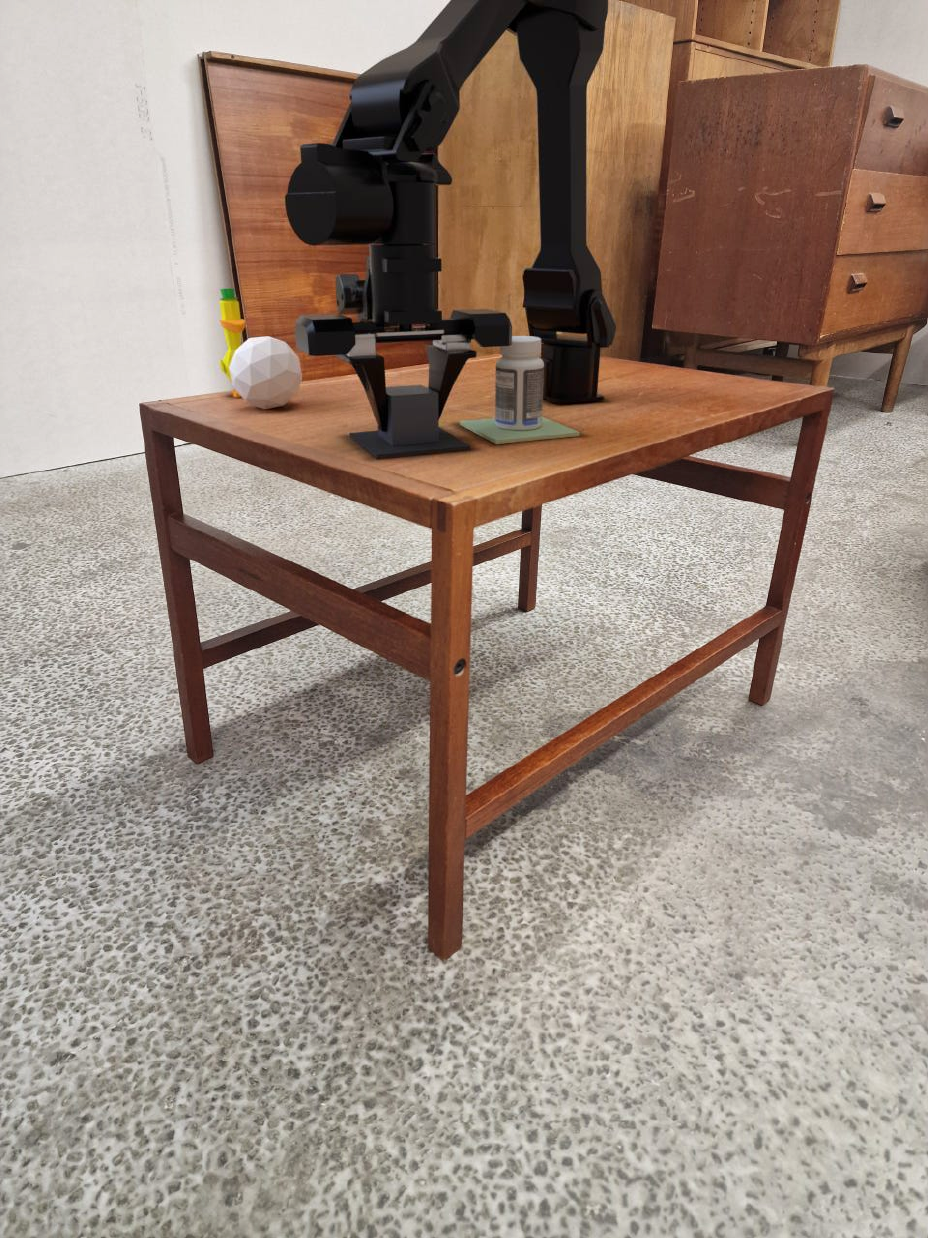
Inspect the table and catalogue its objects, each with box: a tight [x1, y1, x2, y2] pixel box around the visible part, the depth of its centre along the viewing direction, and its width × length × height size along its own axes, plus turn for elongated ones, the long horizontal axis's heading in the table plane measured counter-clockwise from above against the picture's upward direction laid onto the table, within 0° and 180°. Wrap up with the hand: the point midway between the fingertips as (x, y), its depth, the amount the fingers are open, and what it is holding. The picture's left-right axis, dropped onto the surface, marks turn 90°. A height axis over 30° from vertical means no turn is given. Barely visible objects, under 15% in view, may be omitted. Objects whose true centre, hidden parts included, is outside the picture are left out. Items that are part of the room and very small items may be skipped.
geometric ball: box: [229, 335, 303, 410], centre depth 89 cm, size 8×8×8 cm
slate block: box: [377, 384, 440, 446], centre depth 74 cm, size 4×4×4 cm
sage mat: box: [459, 416, 580, 445], centre depth 80 cm, size 9×9×1 cm
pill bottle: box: [494, 335, 544, 430], centre depth 79 cm, size 5×5×8 cm
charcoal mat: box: [348, 427, 472, 460], centre depth 75 cm, size 9×9×1 cm
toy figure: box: [219, 288, 247, 398], centre depth 94 cm, size 7×4×12 cm, turn 26°
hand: (407, 428), depth 75 cm, fingers closed on slate block, 4 cm apart
